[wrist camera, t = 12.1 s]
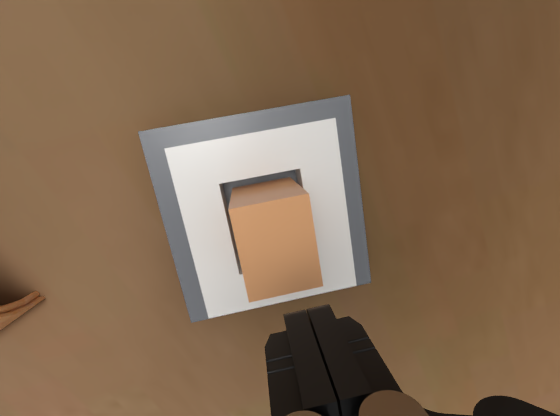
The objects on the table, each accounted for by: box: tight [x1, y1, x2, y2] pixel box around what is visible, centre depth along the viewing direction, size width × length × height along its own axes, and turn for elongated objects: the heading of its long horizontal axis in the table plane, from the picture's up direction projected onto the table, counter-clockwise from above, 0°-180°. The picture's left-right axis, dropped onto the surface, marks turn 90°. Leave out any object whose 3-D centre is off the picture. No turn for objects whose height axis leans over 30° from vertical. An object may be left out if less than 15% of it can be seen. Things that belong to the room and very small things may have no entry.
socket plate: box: [138, 95, 371, 323], centre depth 25 cm, size 16×16×4 cm
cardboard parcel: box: [228, 177, 323, 303], centre depth 21 cm, size 4×6×8 cm
